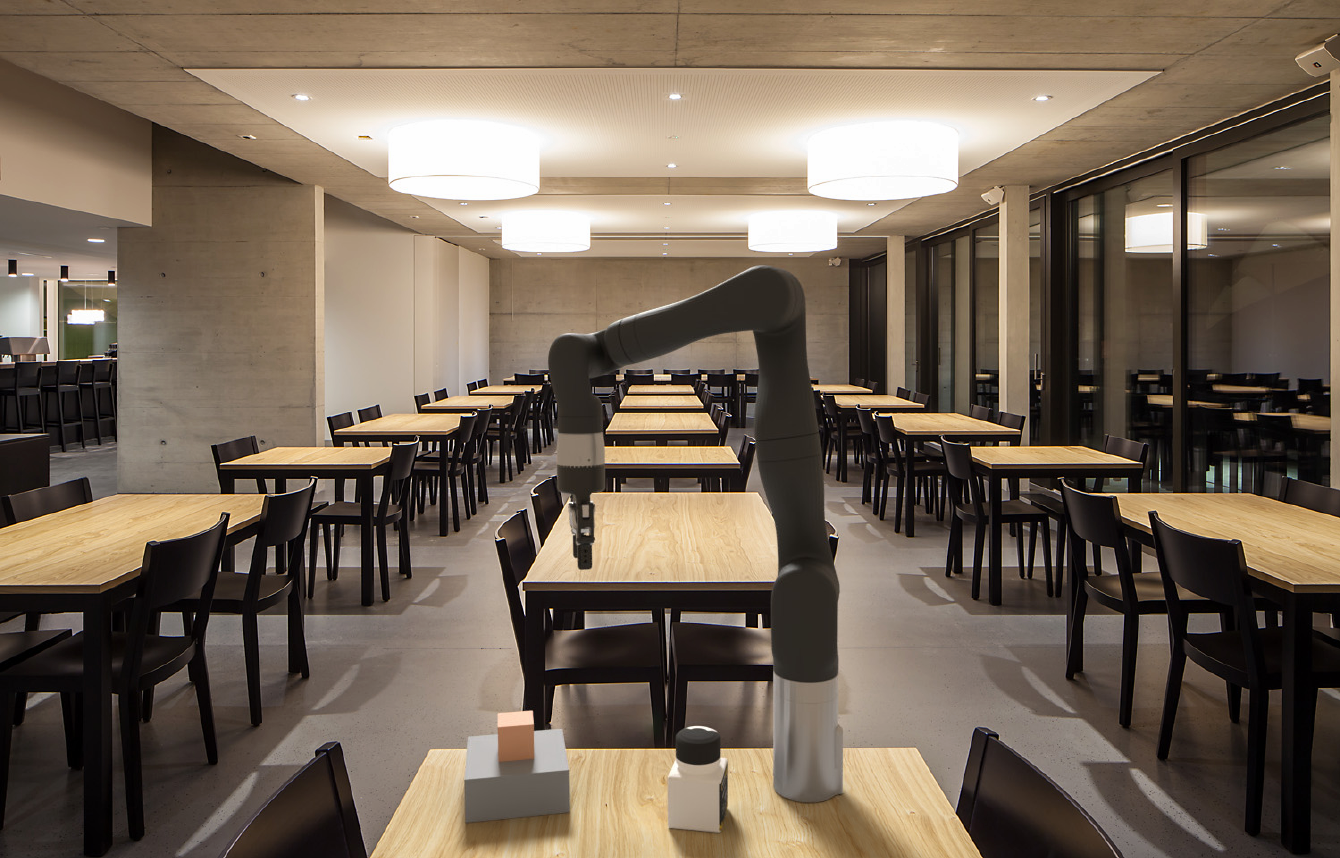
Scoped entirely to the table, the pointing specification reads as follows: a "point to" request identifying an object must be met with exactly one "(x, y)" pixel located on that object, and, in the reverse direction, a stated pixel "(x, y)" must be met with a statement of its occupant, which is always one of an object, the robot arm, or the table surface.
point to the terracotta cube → (515, 736)
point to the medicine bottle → (698, 782)
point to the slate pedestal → (516, 779)
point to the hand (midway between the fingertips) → (582, 563)
